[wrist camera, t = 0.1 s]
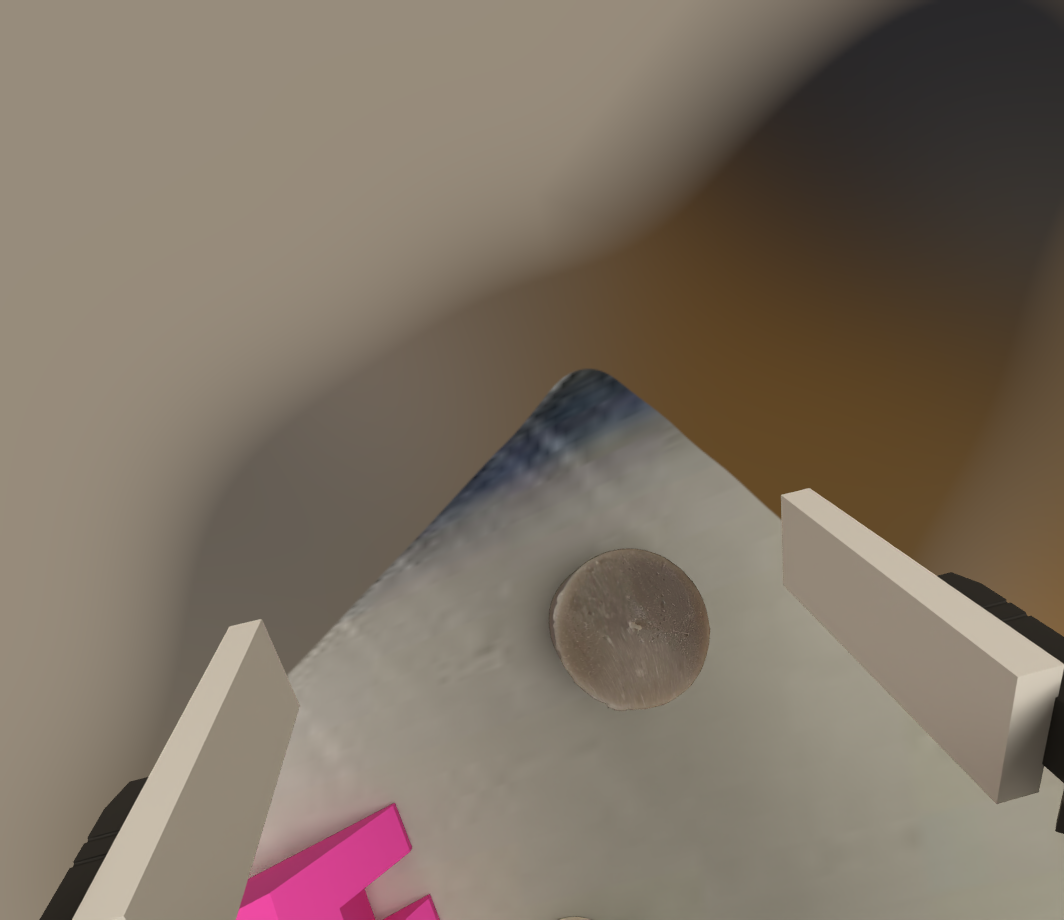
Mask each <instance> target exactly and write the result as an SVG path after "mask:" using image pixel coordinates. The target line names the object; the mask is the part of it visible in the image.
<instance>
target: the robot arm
mask: <svg viewBox="0 0 1064 920" xmlns="http://www.w3.org/2000/svg"><path fill="white" fill-rule="evenodd" d="M781 512H782V553H783V585H784V586H785V587H786V588H787V589H788V590H789V591H790V592H791V594H792V595H793V596H794V597H795V598H796V599H797V600H798V601H799V602H800V603H801V604H802V605H803V606H804V607H805V608H806V609H807V610H808V611H809V612H810V613H811V614H812V615H813V616H814V617H815V618H816V619H817V620H818V621H819V622H820V623H821V624H822V625H823V626H824V627H825V628H826V629H827V630H828V631H829V633H830V634H831V635H832V636H833V637H834V638H835V639H836V640H837V641H838V642H839V643H840V644H841V645H842V646H843V647H844V648H845V649H846V650H847V651H848V652H849V653H850V654H851V655H852V656H853V657H854V658H855V659H856V660H857V661H858V662H859V663H860V664H861V665H862V666H863V667H864V668H865V669H866V671H867V672H868V673H869V674H870V675H871V676H872V677H873V678H874V679H875V680H876V681H877V682H878V683H879V684H880V685H881V686H882V687H883V688H884V689H885V690H886V691H887V692H888V693H889V694H890V695H891V696H892V697H893V698H894V699H895V700H896V701H897V702H898V703H899V704H900V705H901V706H902V707H903V709H904V710H905V711H906V712H907V713H908V714H909V715H910V716H911V717H912V718H913V719H914V720H915V721H916V722H917V723H918V724H919V725H920V726H921V727H922V728H923V729H924V730H925V731H926V732H927V733H928V734H929V735H930V736H931V737H932V738H933V739H934V740H935V741H936V742H937V743H938V744H939V745H940V746H941V748H942V749H943V750H944V751H945V752H946V753H947V754H948V755H949V756H950V757H951V758H952V759H953V760H954V761H955V762H956V763H957V764H958V765H959V766H960V767H961V768H962V769H963V770H964V771H965V772H966V773H967V774H968V775H969V776H970V777H971V778H972V779H973V780H974V781H975V782H976V783H977V784H978V786H979V787H980V788H981V789H982V790H983V791H984V792H985V793H986V794H987V795H988V796H989V797H990V798H991V799H992V800H993V801H994V802H995V803H996V804H998V803H1002V802H1006V801H1009V800H1013V799H1016V798H1020V797H1023V796H1027V795H1030V794H1034V793H1037V792H1039V788H1040V783H1041V778H1042V773H1043V768H1044V766H1045V767H1046V768H1047V769H1049V770H1050V771H1051V772H1052V773H1053V774H1054V775H1055V776H1056V777H1058V778H1059V779H1060V780H1061V781H1062V782H1063V783H1064V637H1063V636H1062V635H1060V634H1058V633H1057V632H1055V631H1054V630H1052V629H1051V628H1049V627H1047V626H1046V625H1044V624H1043V623H1042V622H1040V621H1038V620H1037V619H1035V618H1034V617H1032V616H1027V615H1026V612H1024V611H1023V610H1021V609H1020V608H1018V607H1017V606H1015V605H1014V604H1012V603H1007V602H1006V599H1004V598H1003V597H1001V596H1000V595H998V594H997V593H995V592H994V591H992V590H991V589H989V588H987V587H986V586H984V585H983V584H981V583H979V582H976V581H973V580H970V579H968V578H965V577H962V576H960V575H957V574H954V573H947V574H943V575H939V576H936V575H934V574H933V573H931V572H930V571H928V570H927V569H926V568H924V567H923V566H921V565H920V564H918V563H917V562H916V561H914V560H913V559H911V558H910V557H908V556H907V555H905V554H904V553H903V552H901V551H900V550H898V549H896V548H895V547H894V546H892V545H891V544H889V543H888V542H887V541H885V540H884V539H882V538H881V537H879V536H878V535H876V534H875V533H873V532H872V531H871V530H869V529H868V528H866V527H865V526H863V525H862V524H861V523H859V522H858V521H856V520H855V519H853V518H852V517H850V516H849V515H847V514H846V513H845V512H843V511H842V510H840V509H839V508H837V507H836V506H834V505H833V504H832V503H830V502H829V501H827V500H826V499H824V498H823V497H821V496H820V495H819V494H817V493H816V492H814V491H813V490H811V489H810V488H809V489H804V490H800V491H796V492H792V493H787V494H783V495H781ZM299 707H300V705H299V703H298V700H297V698H296V696H295V694H294V691H293V689H292V687H291V684H290V682H289V680H288V678H287V675H286V673H285V671H284V668H283V667H282V664H281V662H280V659H279V657H278V655H277V653H276V650H275V648H274V646H273V644H272V642H271V639H270V637H269V635H268V632H267V630H266V628H265V625H264V623H263V621H262V619H260V620H256V621H251V622H247V623H243V624H239V625H234V626H230V627H229V628H228V630H227V632H226V634H225V636H224V638H223V640H222V641H221V643H220V645H219V647H218V649H217V651H216V653H215V654H214V656H213V658H212V660H211V662H210V664H209V666H208V668H207V669H206V671H205V673H204V675H203V677H202V679H201V681H200V682H199V684H198V686H197V688H196V690H195V692H194V694H193V695H192V697H191V699H190V701H189V703H188V705H187V707H186V708H185V710H184V712H183V714H182V716H181V718H180V720H179V721H178V723H177V725H176V727H175V729H174V731H173V733H172V734H171V737H170V738H169V740H168V742H167V744H166V746H165V747H164V749H163V751H162V753H161V755H160V757H159V759H158V761H157V762H156V764H155V766H154V768H153V770H152V772H151V774H150V775H149V777H147V778H143V779H139V780H135V781H131V782H129V783H128V784H127V785H126V786H125V787H124V788H123V790H122V791H121V792H120V793H119V794H118V795H117V796H116V797H115V798H114V799H113V800H112V801H111V802H110V804H109V805H108V806H107V807H106V808H105V809H104V810H103V812H102V814H101V816H100V817H99V819H98V821H97V822H96V824H95V826H94V828H93V829H92V831H91V833H90V834H89V836H88V842H87V843H85V844H84V845H83V847H82V848H81V850H80V852H79V853H78V855H77V857H76V858H75V860H74V866H73V867H72V868H70V869H69V870H68V872H67V874H66V876H65V878H64V879H63V881H62V882H61V884H60V886H59V888H58V889H57V891H56V893H55V894H54V896H53V898H52V899H51V901H50V903H49V905H48V906H47V908H46V910H45V911H44V913H43V915H42V917H41V918H40V920H236V918H237V914H238V911H239V908H240V904H241V901H242V898H243V894H244V891H245V887H246V884H247V881H248V877H249V874H250V871H251V867H252V864H253V861H254V857H255V854H256V851H257V847H258V844H259V841H260V837H261V834H262V831H263V827H264V824H265V821H266V817H267V814H268V810H269V807H270V804H271V800H272V797H273V794H274V790H275V787H276V784H277V780H278V777H279V774H280V770H281V767H282V764H283V760H284V757H285V754H286V750H287V747H288V743H289V740H290V737H291V733H292V730H293V727H294V723H295V720H296V717H297V713H298V710H299ZM1055 831H1056V832H1060V833H1063V834H1064V791H1063V796H1062V800H1061V805H1060V809H1059V813H1058V818H1057V823H1056V830H1055Z"/></svg>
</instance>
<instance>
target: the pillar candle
mask: <svg viewBox="0 0 1064 920" xmlns="http://www.w3.org/2000/svg"><path fill="white" fill-rule="evenodd" d="M549 628H550V635H551V639H552V642H553V645H554V647H555V649H556V651H557V653H558V655H559V657H560V659H561V661H562V664H563V666H564V667H565V668H566V669H567V671H568V673H569V674H570V675H571V677H572V678H573V680H574V682H575V683H576V684H577V685H578V686H580V687H581V688H582V689H583V690H584V691H585V692H587V693H588V694H589V695H590V696H591V697H593V698H594V699H596V700H598V701H600V702H602V703H605V704H607V706H608V708H612V709H614V710H619V711H625V710H627V709H630V710H634V709H648V708H652V707H656V706H660V705H664V704H666V703H668V702H669V701H671V700H673V699H675V698H676V697H678V696H679V695H680V694H682V693H683V692H684V691H686V690H687V689H688V688H689V687H690V686H691V685H692V683H693V682H694V680H695V679H696V678H697V676H698V674H699V672H700V671H701V669H702V666H703V664H704V661H705V658H706V654H707V650H708V646H709V635H710V627H709V621H708V616H707V612H706V608H705V604H704V602H703V599H702V597H701V595H700V593H699V591H698V589H697V588H696V586H695V585H694V583H693V582H692V581H691V580H690V578H689V577H688V576H687V575H686V574H685V573H684V572H683V571H682V570H681V569H680V568H679V567H677V566H676V565H675V564H673V563H672V562H670V561H669V560H668V559H666V558H664V557H662V556H660V555H658V554H655V553H652V552H649V551H645V550H639V549H619V550H613V551H609V552H605V553H603V554H601V555H598V556H596V557H594V558H592V559H591V560H589V561H587V562H586V563H584V564H583V565H582V566H581V567H579V568H578V569H577V570H576V571H575V572H574V573H572V574H571V575H570V576H569V577H568V578H567V579H566V580H565V581H564V582H563V583H562V584H561V586H560V587H559V589H558V590H557V591H556V593H555V595H554V597H553V600H552V603H551V607H550V612H549Z"/></svg>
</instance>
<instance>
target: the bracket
mask: <svg viewBox="0 0 1064 920" xmlns="http://www.w3.org/2000/svg"><path fill="white" fill-rule="evenodd" d="M411 849H412V846H411V844H410V841H409V839H408V836H407V833H406V831H405V828H404V825H403V823H402V820H401V818H400V815H399V812H398V810H397V807H396V805H395V803H393V804H391V805H390V806H388V807H386V808H384V809H382V810H380V811H378V812H376V813H374V814H372V815H370V816H368V817H367V818H365V819H363V820H361V821H359V822H357V823H355V824H353V825H351V826H349V827H347V828H345V829H344V830H342V831H340V832H338V833H336V834H334V835H332V836H330V837H328V838H326V839H324V840H322V841H321V842H319V843H317V844H315V845H313V846H311V847H309V848H307V849H305V850H303V851H301V852H299V853H298V854H296V855H294V856H292V857H290V858H288V859H286V860H284V861H282V862H280V863H278V864H276V865H275V866H273V867H271V868H269V869H267V870H265V871H263V872H261V873H259V874H257V875H255V876H253V877H252V878H250V879H248V881H247V884H246V887H245V891H244V894H243V898H242V901H241V904H240V908H239V911H238V914H237V918H236V920H375V917H374V914H373V912H372V909H371V906H370V903H369V901H368V898H367V895H366V892H365V889H364V888H365V887H367V886H368V885H369V884H370V883H372V882H373V881H374V880H375V879H377V878H378V877H379V876H380V875H382V874H383V873H384V872H385V871H387V870H388V869H389V868H390V867H392V866H393V865H394V864H395V863H396V862H398V861H399V860H400V859H401V858H403V857H404V856H405V855H406V854H408V853H409V852H410V851H411ZM383 920H440V919H439V917H438V914H437V912H436V909H435V906H434V904H433V901H432V899H431V896H430V894H429V895H427V896H425V897H423V898H421V899H420V900H418V901H416V902H414V903H412V904H410V905H409V906H407V907H405V908H403V909H401V910H399V911H398V912H396V913H394V914H392V915H390V916H388V917H387V918H385V919H383Z"/></svg>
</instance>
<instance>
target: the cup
mask: <svg viewBox="0 0 1064 920" xmlns="http://www.w3.org/2000/svg"><path fill="white" fill-rule="evenodd" d="M559 920H590V919H587V918H582V917H567V918H562V919H559Z"/></svg>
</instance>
